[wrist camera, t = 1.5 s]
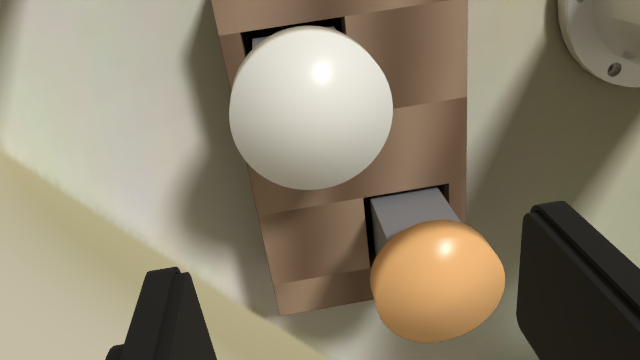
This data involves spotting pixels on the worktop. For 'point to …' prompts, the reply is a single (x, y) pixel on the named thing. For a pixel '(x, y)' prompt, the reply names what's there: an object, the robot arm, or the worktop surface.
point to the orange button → (430, 268)
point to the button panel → (395, 156)
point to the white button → (309, 108)
